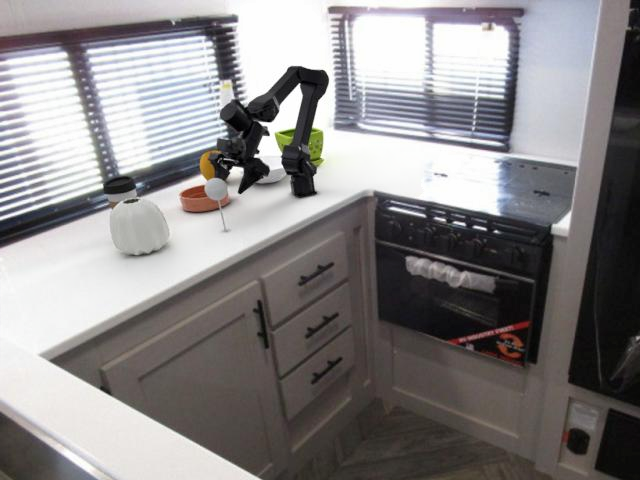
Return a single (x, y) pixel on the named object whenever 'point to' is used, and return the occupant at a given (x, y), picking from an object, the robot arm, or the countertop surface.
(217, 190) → the lollipop
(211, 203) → the terracotta plant saucer
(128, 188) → the coffee cup
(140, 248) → the vase
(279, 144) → the flower pot
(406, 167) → the countertop surface
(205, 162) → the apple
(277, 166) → the bowl
